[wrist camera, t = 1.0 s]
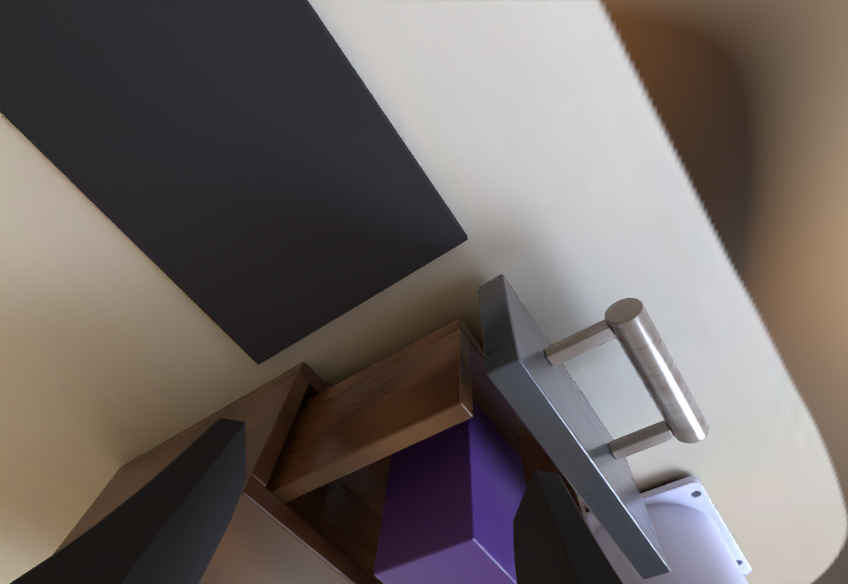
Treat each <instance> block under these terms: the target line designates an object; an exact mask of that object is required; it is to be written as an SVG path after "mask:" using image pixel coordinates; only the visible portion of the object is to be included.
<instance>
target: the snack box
mask: <svg viewBox="0 0 848 584" xmlns="http://www.w3.org/2000/svg"><path fill="white" fill-rule="evenodd" d="M472 404H473V417H472V418H470V419H468V420H466V421H464V422H461V423H459V424H457V425H455V426H453V427H450V428H448V429H446V430H444V431H442V432H439V433H437V434H435V435H433V436H431V437H428V438H426V439H424V440H422V441H420V442H418V443H415V444H413V445H411V446H409V447H407V448H404V449H402V450H400V451H398V452H396V453H393V454H391V461H390V467H389V474H388V481H387V487H386V494H385V501H384V507H383V514H382V521H381V527H380V534H379V541H378V547H377V554H376V561H375V567H374V575H375V576H376V577H377V578H378V579H379V580H380V581H382V582H383V583H384V584H517V580H516V572H515V565H514V544H513V520H514V517H515V515H516V512H517V510H518V507H519V505H520V502H521V500H522V497H523V495H524V492H525V490H526V482H525V476H524V469H523V463H522V459H521V457H520V456H519V455H518V454H517V452H516V451H515V450H514V449H513V448H512V446H511V445H510V444H509V443H508V441H507V440H506V439H505V438H504V436H503V435H502V434H501V433H500V431H499V430H498V429H497V428H496V426H495V425H494V424H493V423H492V421H491V420H490V419H489V418H488V416H487V415H486V414H485V413H484V411H483V410H482V409H481V408H480V406H479V405H478V404H477V403H476V401H475V400H474V399H473V398H472Z"/></svg>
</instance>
